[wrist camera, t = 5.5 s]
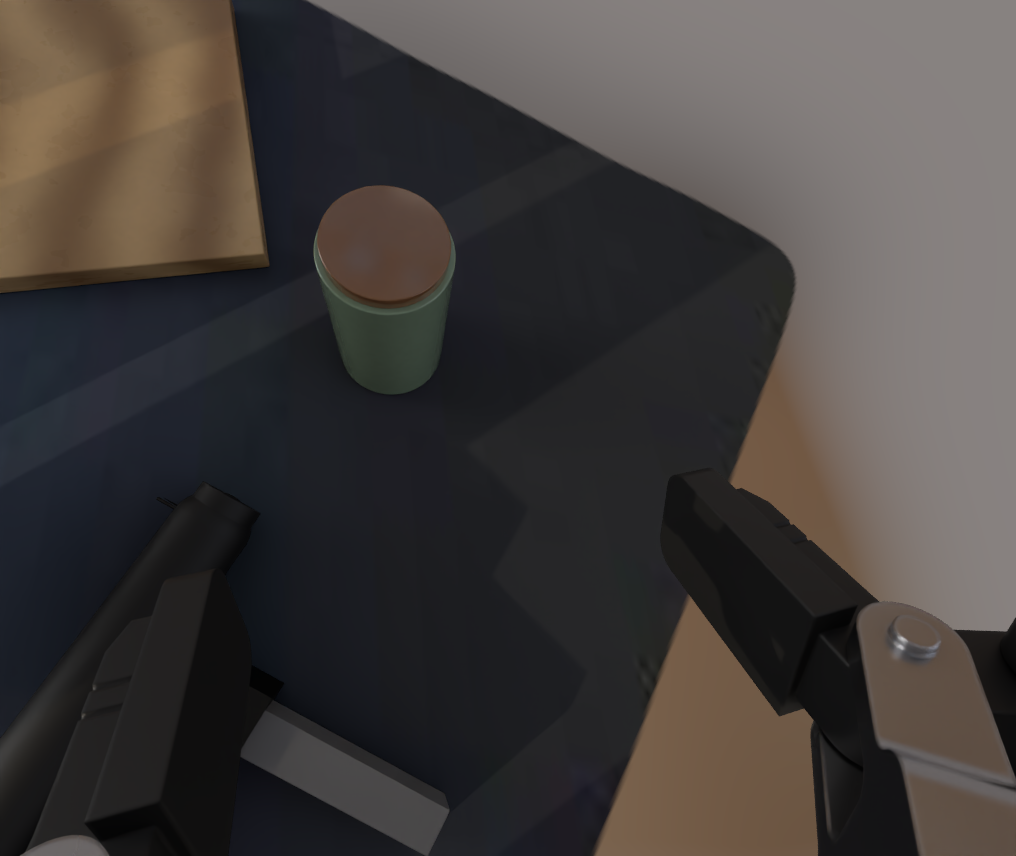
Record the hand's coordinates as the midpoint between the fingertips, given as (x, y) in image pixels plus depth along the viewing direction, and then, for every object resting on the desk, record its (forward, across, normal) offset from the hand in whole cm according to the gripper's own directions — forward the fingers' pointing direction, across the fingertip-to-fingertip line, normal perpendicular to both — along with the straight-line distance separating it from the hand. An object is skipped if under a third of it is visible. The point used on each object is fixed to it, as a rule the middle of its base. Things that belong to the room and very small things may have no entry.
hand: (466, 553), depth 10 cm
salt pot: (+19, 0, +3) cm, 19 cm away
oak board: (+28, +17, -6) cm, 33 cm away
